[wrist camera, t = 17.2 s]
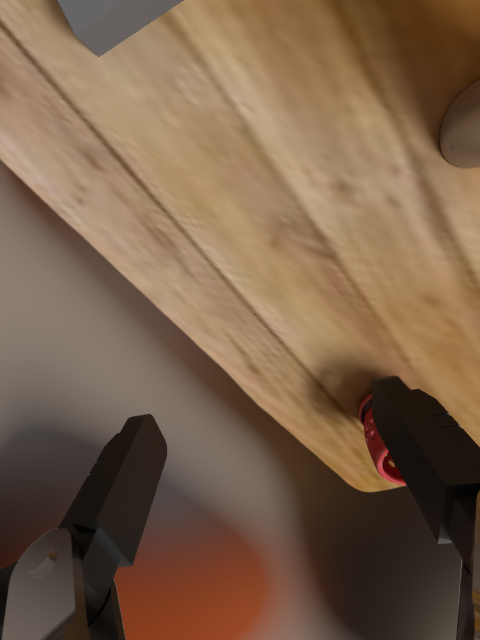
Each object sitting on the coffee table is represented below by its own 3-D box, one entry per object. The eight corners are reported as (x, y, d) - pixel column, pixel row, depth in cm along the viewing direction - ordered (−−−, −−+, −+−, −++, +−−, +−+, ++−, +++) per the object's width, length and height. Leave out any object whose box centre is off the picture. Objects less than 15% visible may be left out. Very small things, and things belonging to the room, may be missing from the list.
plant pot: (341, 397, 51) (365, 451, 40) (409, 369, 48) (455, 420, 37) (365, 438, 56) (392, 497, 45) (429, 415, 52) (475, 473, 42)
